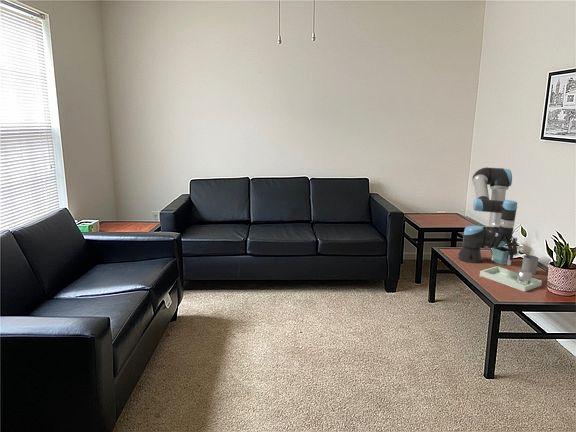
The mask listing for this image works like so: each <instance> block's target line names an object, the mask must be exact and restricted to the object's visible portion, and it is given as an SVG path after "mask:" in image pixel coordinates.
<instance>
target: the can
mask: <svg viewBox="0 0 576 432" xmlns="http://www.w3.org/2000/svg"><path fill="white" fill-rule="evenodd" d="M517 273H518V275H517V281H516V283H518V284H521V285H524V286H525V285H528V284H530V281H531V277H532V275H533V274H532V273H531V272H529V271H526V270H521V269H519V270H518V271H517Z"/></svg>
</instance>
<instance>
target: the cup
mask: <svg viewBox="0 0 576 432" xmlns="http://www.w3.org/2000/svg"><path fill="white" fill-rule="evenodd" d="M538 264H539V257H538V256H535V255H532V254H531V255H530V254H524V255H523V258H522V265H521V269H520V270H526V271H529V272H531V273H532V275H536V274H537V270H538Z"/></svg>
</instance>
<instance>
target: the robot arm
mask: <svg viewBox="0 0 576 432" xmlns="http://www.w3.org/2000/svg"><path fill="white" fill-rule="evenodd" d="M471 182H472V185H473V186H474V192H475V198H474V200H473V202H472V203H473V207H472V209H473V211H475V212H483V213H489V220H488V221H489V222H488V224H487V226H486V227H485V228H484V227H483V226H481V225H468V226H466V227H465V228H464V231H463V238H462V245H461V248H460V251H459V252H458V254H457V258H458V260H460V261H462V262H466V263H472V264H478V263H481V262H482V260H483V257H482V252H481V249H482V248H481V247H486V248H489V249H491V250H492V248H495V247H505V246H507V248H508V249H509V253H510V254H509V255H508V261H507V264H506V266H511V265H512V261H513V260H514V256H515V255H518V247H517V245H518V244H517V242H518V237H514V235H513V234H514V227H515V221H516V215H517V209H518V202H517V201H516V200H512V199H506V192H507V190H509V187H512V184H513V174H512V171H511V169H509V168H503V167H502V168H501V167H500V168H499V167H497V168H496V167H481V168H480V169H478V170H476V171H475V172H474V173H473V175H472V180H471ZM488 186H489V189H491V199H490V194H489V189H488ZM491 261H494V259H493V256H492V252H491Z"/></svg>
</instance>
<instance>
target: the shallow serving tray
mask: <svg viewBox="0 0 576 432" xmlns="http://www.w3.org/2000/svg"><path fill="white" fill-rule="evenodd" d="M517 275H518V272H516V271H513V270H510V269H507V268H505V267H504V268H503V267H501V266H493V267H490V268H486V269H482V270H479V278H485V279H488V280H490V281H493V282H494V281H495V282H497V283H499V284H502V285H505V286H508V287H511V288H512V289H513V288H514V289H516V290H519V291H522V292H527V291H530V290H534V289H536V288H538V287H541V286H542V283H543V281H542V280H540V279H538V278H535V277H532V276H531V281H530V284H528V285H525V286H524V285H521V284H518V283H516V281H517Z"/></svg>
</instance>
